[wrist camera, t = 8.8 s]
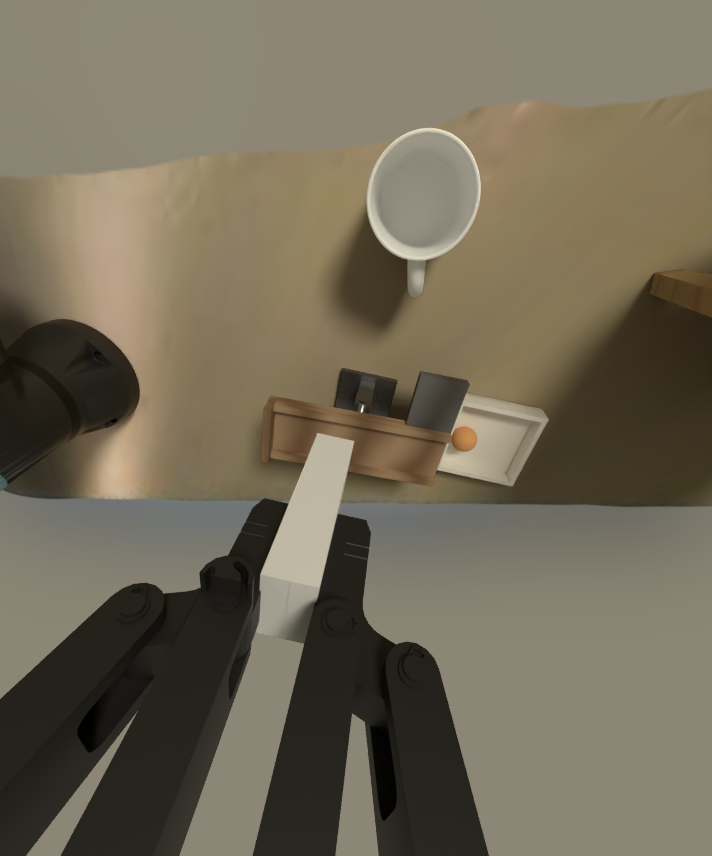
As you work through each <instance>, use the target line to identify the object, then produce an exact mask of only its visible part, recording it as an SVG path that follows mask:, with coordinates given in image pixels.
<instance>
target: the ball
mask: <svg viewBox="0 0 712 856" xmlns="http://www.w3.org/2000/svg"><path fill="white" fill-rule="evenodd" d="M451 443H452V445H453V447H454V448H455V449H457V450H458V451H461V452H467V451H470V450H472V449H473V448H474V447H475V446H476V444H477V435H476V433H475V431H474V430H473V429H471V428H469V427H465V426H463V427H459V428H457V429H455V430H454V432H453V434H452V440H451Z"/></svg>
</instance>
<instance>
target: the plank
mask: <svg viewBox="0 0 712 856" xmlns="http://www.w3.org/2000/svg"><path fill="white" fill-rule="evenodd" d="M469 385H470V384H469V382H468V380H463V379H458V378H453V377H448V376H442V375H437V374H432V373H427V372H422V371H420V373H419V376H418V380H417V383H416V387H415V390H414V393H413V397H412V400H411V403H410V407H409V410H408V414H407V417H406V420H400V419H394V418H389V417H383V416H378V415H373V414H367V413H362V412H356V411H351V410H346V409H340V408H335V407H329V406H324V405H318V404H313V403H308V402H302V401H297V400H291V399H286V398H281V397H275V396H270V398H269V400H268V402H267V403H266V405H265V407H264V409H263V431H262V452H261V462H264V463H268V462H269V460H270V458H274V459H279V460H285V461H291V462H296V463H302V464H305V463H306V460H307V458H308V455H309V453H310V451H311V448H312V446H313V443H314V441H315V438H316V436H317V433H320V434H325V435H329V436H334V437H338V438H343V439H347V440H352V441H354V445H353V450H352V454H351V459H350V464H349V468H348V472H353V473H358V474H364V475H370V476H375V477H381V478H387V479H392V480H398V481H404V482H409V483H415V484H421V485H426V486H432V487H433V486H434V484H435V479H434V476H435V474H436V471H437V468H438V466H439V463H440V461H441V458H442V455H443V453H444V450H445V447H446V445H447V443H450V442H451V440H452V436H451V432H452V429H453V427H454V424H455V421H456V419H457V416H458V414H459V411H460V408H461V406H462V403H463V400H464V398H465V395H466V393H467V390H468V387H469Z"/></svg>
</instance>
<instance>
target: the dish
mask: <svg viewBox="0 0 712 856" xmlns="http://www.w3.org/2000/svg"><path fill="white" fill-rule="evenodd" d="M548 420H549V419H548V418H547V416H546V415H545V413H544V411H543V410H542V409H539V408H535V407H530V406H526V405H521V404H516V403H512V402H507V401H503V400H498V399H493V398H489V397H484V396H480V395H475V394H471V393H466V395H465V398H464V400H463V403H462V406H461V408H460V411H459V414H458V416H457V419H456V421H455V424H454V427H453V429H452V432H451V436H452V434H453V432H454V430H455V429H457V428H459V427H463V426H465V427H469V428H471V429H473V430H474V431H475V433H476V435H477V444H476V446H475V447H474V448H473V449H472V450H470V451H467V452H461V451H458V450H457V449H455V448H454V447H453V445H452V443H451V442H450V443H447V445H446V447H445V450H444V453H443V455H442V458H441V461H440V463H439V466H438V468H437V470H440V471H444V472H449V473H453V474H458V475H462V476H467V477H471V478H476V479H481V480H485V481H490V482H494V483H499V484H503V485H508V486H513V484H514V483H515V481H516V479H517V477H518V475H519V473H520V472H521V470H522V468H523V466H524V464H525V462H526V461H527V459H528V457H529V455H530V453H531V451H532V449H533V448H534V446H535V444H536V442H537V440H538V438H539V437H540V435H541V433H542V431H543V429H544V427H545V426H546V424H547V422H548Z"/></svg>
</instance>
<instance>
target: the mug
mask: <svg viewBox="0 0 712 856" xmlns="http://www.w3.org/2000/svg"><path fill="white" fill-rule="evenodd" d="M480 193H481V184H480V175H479V171H478V167H477V164H476V161H475V159H474V157H473V155H472V153H471V152H470V150H469V149H468V148H467V146H466V145H465V144H464V143H463V142H462V141H461V140H460V139H459V138H458V137H456V136H454V135H453V134H451V133H449V132H447V131H444V130H440V129H436V128H423V129H417V130H414V131H411V132H408V133H406V134H404V135H402V136H401V137H399V138H397V139H396V140H395V141H394V142H392V143H391V144H390V145H389V146H388V147H387V148H386V149H385V150H384V152H383V153H382V154H381V156H380V157H379V159H378V160H377V162H376V164H375V166H374V168H373V170H372V173H371V176H370V179H369V182H368V188H367V197H366V205H367V214H368V219H369V222H370V225H371V228H372V230H373V232H374V234H375V236H376V237H377V239H378V240H379V242H380V243H381V244H382V245H383V246H384V247H385V248H386V249H387V250H388V251H390V252H391V253H392V254H394V255H396V256H398V257H400V258H403V259H406V260H407V282H408V293H409V295H410V296H412V297H418V296H420V295H421V293H422V290H423V285H424V276H425V266H426V260H430V259H434V258H437V257H439V256H441V255H443V254H445V253H447V252H448V251H450V250H451V249H452V248H453V247H455V246H456V245H457V244H458V243H459V242H460V241H461V240H462V239H463V237H464V236H465V235H466V233H467V232H468V230H469V229H470V227H471V225H472V223H473V221H474V219H475V216H476V213H477V210H478V206H479V201H480Z"/></svg>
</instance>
